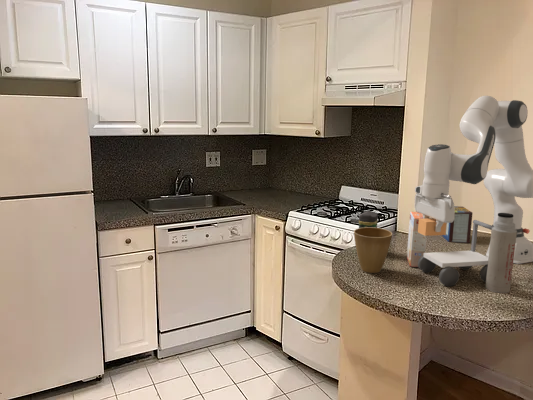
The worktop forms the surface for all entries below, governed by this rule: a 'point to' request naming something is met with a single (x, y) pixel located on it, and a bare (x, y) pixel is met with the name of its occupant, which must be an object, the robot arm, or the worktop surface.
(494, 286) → the thermos bottle
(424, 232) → the block
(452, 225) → the protein box
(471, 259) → the cart
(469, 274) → the worktop surface
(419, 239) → the cracker box
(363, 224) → the coffee jar
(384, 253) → the plant pot
